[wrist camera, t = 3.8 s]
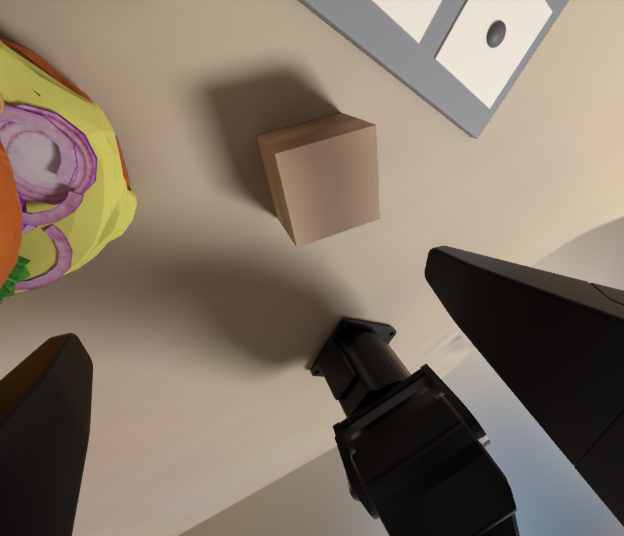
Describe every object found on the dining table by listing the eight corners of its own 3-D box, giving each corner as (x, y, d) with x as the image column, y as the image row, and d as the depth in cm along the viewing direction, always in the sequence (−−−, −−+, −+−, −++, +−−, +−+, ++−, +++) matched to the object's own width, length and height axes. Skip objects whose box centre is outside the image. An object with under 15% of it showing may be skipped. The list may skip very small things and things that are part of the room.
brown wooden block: (340, 112, 18) (376, 124, 15) (348, 193, 21) (379, 218, 18) (255, 135, 17) (274, 154, 14) (276, 217, 20) (296, 247, 17)
